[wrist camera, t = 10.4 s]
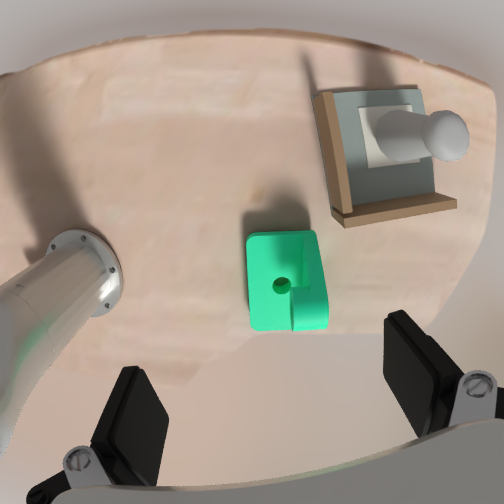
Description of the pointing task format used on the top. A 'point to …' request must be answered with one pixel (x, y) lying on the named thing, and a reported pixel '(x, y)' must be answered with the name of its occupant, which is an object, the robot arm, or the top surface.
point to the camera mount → (295, 290)
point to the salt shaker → (422, 135)
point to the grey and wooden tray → (372, 159)
